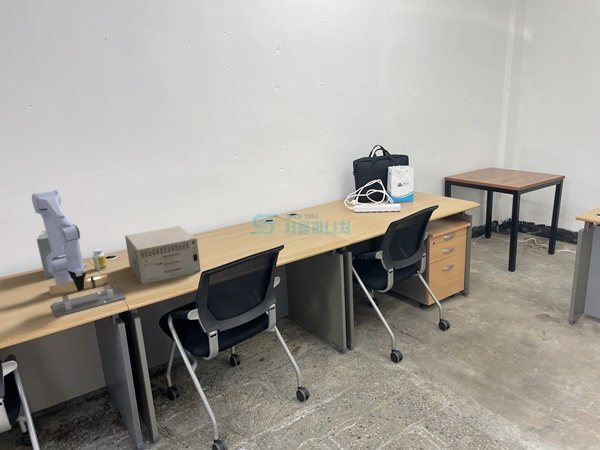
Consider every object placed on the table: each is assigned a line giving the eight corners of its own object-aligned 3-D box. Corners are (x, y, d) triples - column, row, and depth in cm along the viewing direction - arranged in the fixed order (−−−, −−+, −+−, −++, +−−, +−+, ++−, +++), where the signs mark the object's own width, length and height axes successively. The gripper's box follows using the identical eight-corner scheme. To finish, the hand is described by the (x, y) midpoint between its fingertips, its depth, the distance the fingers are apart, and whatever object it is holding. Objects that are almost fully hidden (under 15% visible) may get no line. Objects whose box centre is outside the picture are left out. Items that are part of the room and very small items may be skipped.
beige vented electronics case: (183, 255, 237) (179, 225, 232) (200, 271, 213) (197, 238, 208) (129, 267, 224) (124, 235, 219) (141, 285, 200) (136, 250, 195)
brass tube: (50, 296, 178) (48, 284, 176) (106, 282, 189) (104, 271, 188) (52, 301, 174) (49, 289, 172) (109, 287, 185) (107, 275, 184)
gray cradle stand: (51, 305, 183) (50, 295, 182) (118, 288, 197) (116, 279, 196) (56, 317, 172) (53, 307, 171) (126, 298, 185) (124, 289, 184)
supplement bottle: (108, 266, 225) (105, 248, 223) (104, 270, 220) (101, 251, 218) (97, 267, 225) (94, 248, 223) (93, 270, 220) (89, 252, 217)
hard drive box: (49, 268, 227) (41, 230, 221) (66, 266, 229) (59, 228, 224) (44, 279, 212) (36, 239, 207) (62, 276, 215) (54, 236, 210)
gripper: (87, 258, 174) (93, 290, 177) (81, 249, 185) (87, 280, 189) (67, 262, 170) (74, 295, 173) (62, 253, 182) (68, 284, 185)
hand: (79, 287), depth 181 cm, fingers closed on brass tube, 5 cm apart
